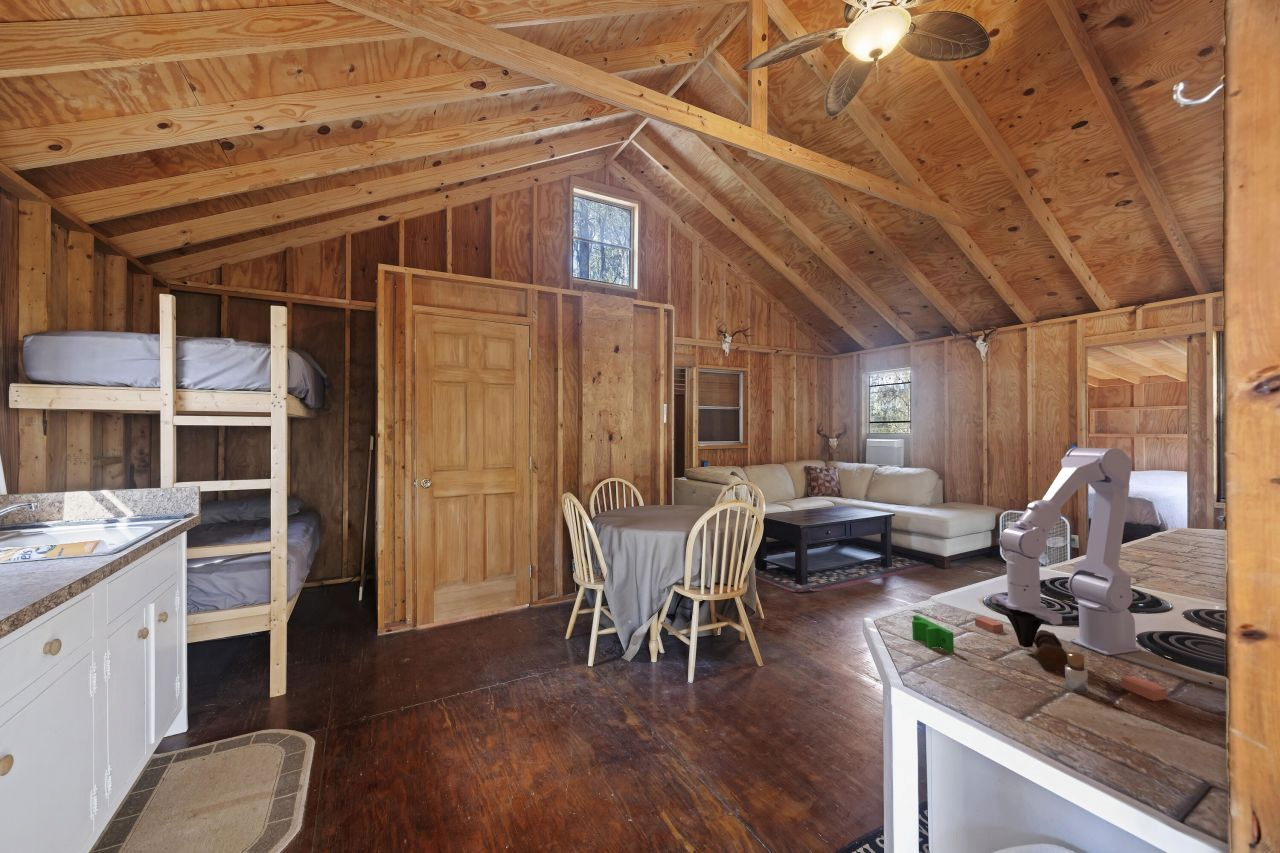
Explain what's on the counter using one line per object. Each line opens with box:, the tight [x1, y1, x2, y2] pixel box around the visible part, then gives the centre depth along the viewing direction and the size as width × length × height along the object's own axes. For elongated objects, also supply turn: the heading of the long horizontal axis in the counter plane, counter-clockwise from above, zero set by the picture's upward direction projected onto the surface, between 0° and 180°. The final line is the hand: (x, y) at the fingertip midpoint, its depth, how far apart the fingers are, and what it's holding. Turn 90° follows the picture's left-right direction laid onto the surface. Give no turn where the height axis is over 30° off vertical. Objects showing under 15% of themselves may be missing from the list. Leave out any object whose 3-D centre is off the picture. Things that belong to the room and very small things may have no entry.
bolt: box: [1033, 629, 1067, 674], centre depth 107 cm, size 6×5×15 cm
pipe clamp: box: [911, 614, 955, 654], centre depth 116 cm, size 11×4×5 cm, turn 9°
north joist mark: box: [1120, 675, 1168, 702], centre depth 92 cm, size 3×5×2 cm, turn 12°
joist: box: [974, 616, 1004, 634], centre depth 123 cm, size 3×5×2 cm, turn 12°
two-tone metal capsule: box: [1064, 651, 1089, 695], centre depth 94 cm, size 3×3×6 cm
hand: (1026, 645), depth 110 cm, fingers closed
